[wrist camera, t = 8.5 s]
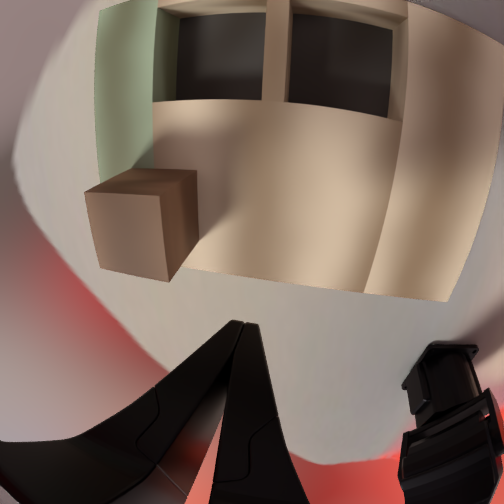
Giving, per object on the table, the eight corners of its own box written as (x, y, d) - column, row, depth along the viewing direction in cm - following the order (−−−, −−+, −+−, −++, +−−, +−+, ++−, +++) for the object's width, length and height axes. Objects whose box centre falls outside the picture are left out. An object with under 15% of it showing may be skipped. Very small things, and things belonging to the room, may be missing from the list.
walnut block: (196, 170, 14) (159, 195, 10) (199, 240, 16) (169, 282, 12) (130, 168, 14) (84, 192, 11) (138, 232, 16) (100, 268, 13)
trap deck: (478, 50, 9) (504, 45, 6) (433, 275, 17) (447, 301, 14) (127, 18, 12) (99, 10, 9) (134, 234, 20) (112, 254, 17)
